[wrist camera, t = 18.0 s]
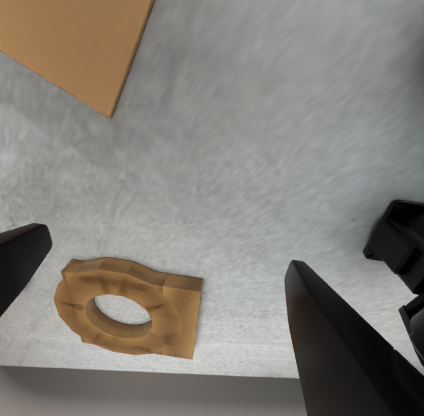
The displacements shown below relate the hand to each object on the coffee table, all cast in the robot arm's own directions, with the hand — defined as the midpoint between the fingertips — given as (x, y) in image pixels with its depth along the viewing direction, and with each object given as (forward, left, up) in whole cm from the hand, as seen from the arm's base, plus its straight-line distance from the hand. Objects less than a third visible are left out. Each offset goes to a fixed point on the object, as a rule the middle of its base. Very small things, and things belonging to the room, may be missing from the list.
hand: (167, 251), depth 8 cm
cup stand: (+8, +22, -13) cm, 27 cm away
